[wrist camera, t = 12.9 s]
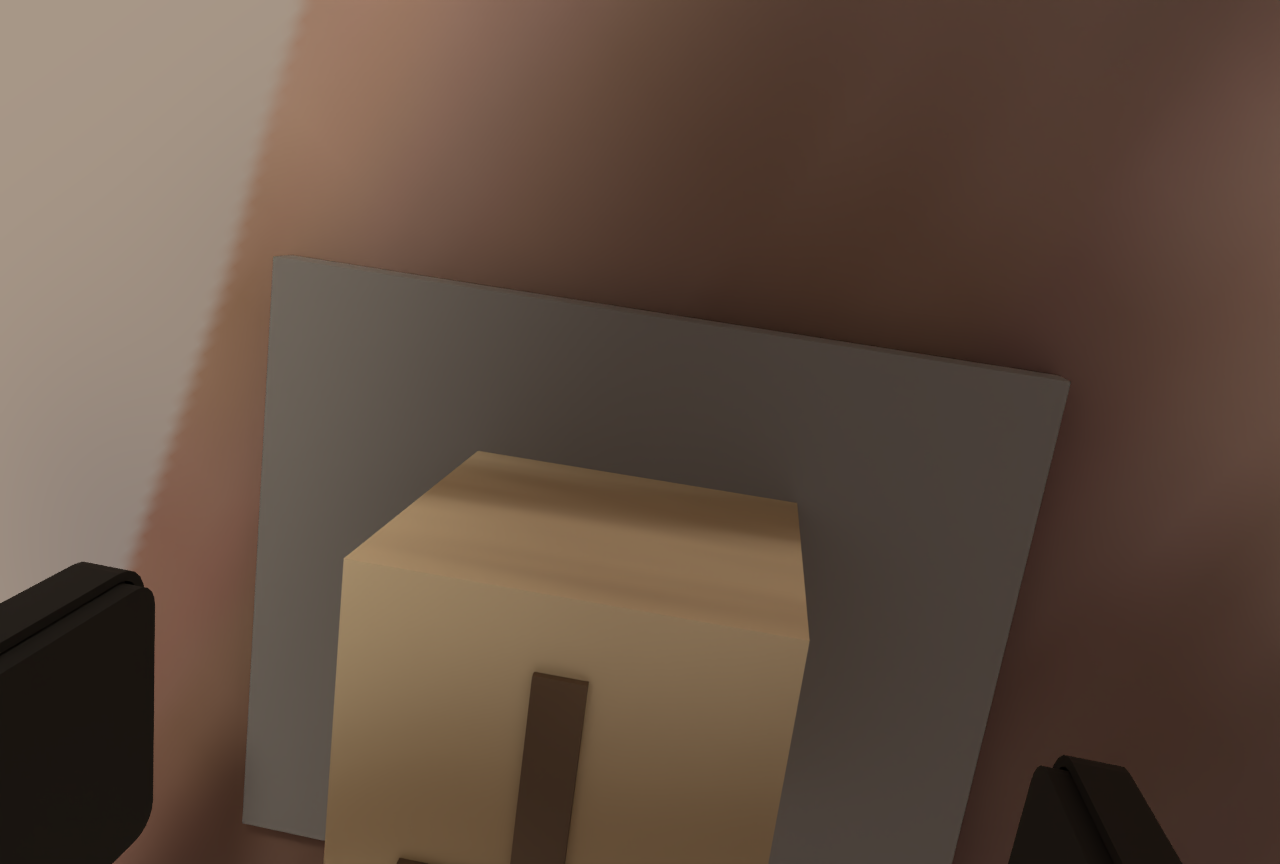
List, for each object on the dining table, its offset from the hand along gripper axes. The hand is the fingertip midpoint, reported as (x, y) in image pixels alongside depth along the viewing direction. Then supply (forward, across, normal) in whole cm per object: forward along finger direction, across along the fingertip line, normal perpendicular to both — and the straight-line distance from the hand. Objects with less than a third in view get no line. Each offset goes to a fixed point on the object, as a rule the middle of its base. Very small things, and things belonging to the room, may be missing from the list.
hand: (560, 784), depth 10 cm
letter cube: (+6, 0, +1) cm, 6 cm away
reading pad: (+6, 0, +1) cm, 6 cm away
